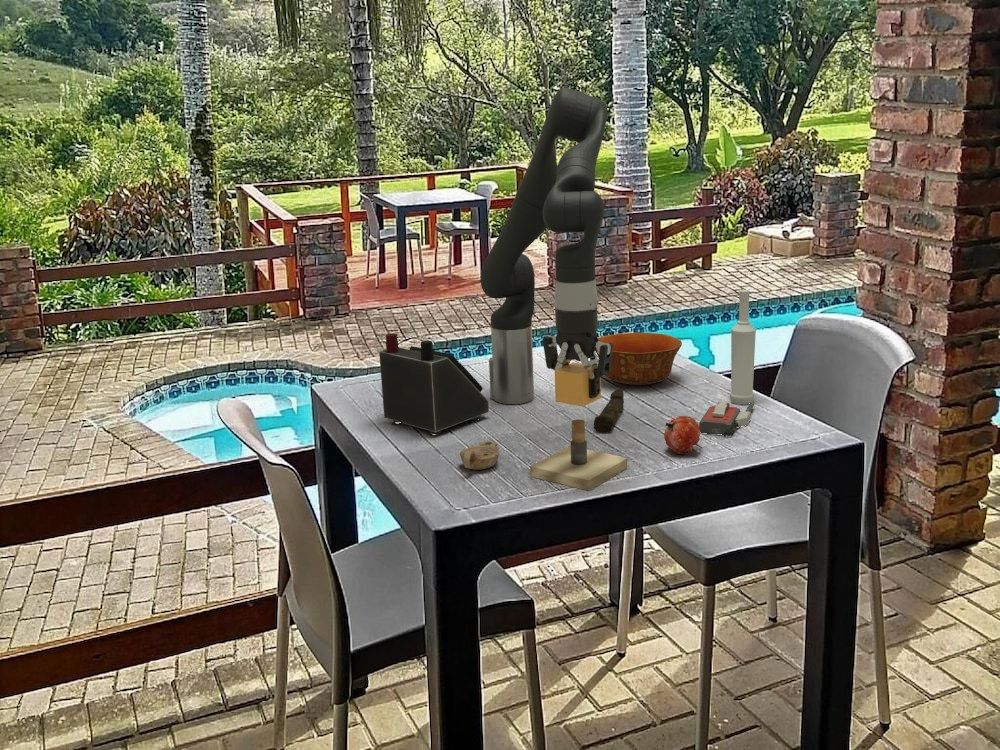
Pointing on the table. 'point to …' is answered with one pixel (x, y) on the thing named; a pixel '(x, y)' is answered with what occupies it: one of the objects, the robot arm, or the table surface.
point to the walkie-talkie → (724, 419)
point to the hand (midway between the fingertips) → (578, 394)
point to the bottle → (742, 354)
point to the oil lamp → (480, 456)
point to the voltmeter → (427, 387)
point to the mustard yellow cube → (573, 385)
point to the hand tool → (610, 412)
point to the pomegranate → (682, 434)
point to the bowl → (641, 357)
